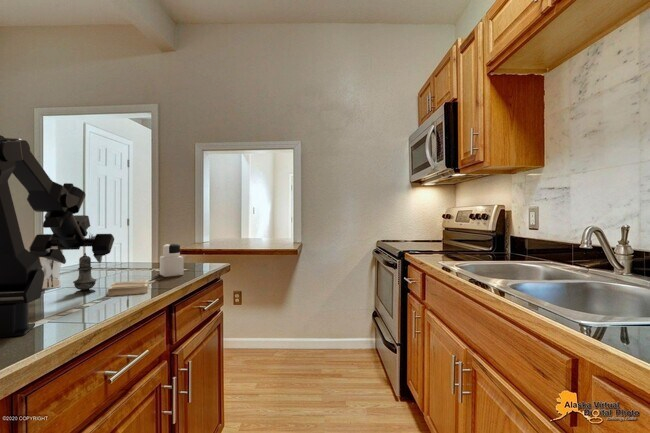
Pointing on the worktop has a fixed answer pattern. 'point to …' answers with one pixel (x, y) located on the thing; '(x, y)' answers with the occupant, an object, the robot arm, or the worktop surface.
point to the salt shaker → (84, 277)
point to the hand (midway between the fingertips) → (83, 262)
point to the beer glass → (50, 273)
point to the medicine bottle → (171, 261)
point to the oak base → (128, 288)
